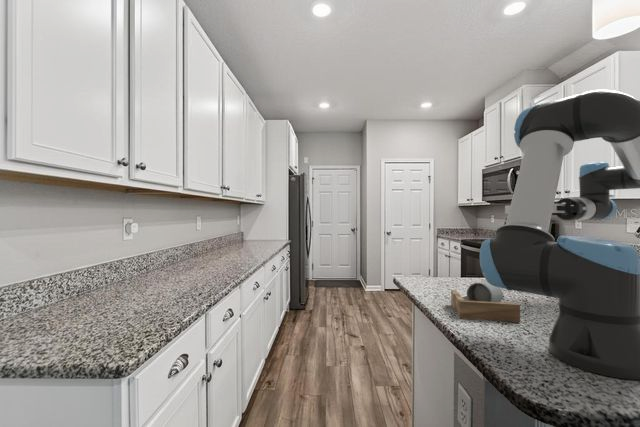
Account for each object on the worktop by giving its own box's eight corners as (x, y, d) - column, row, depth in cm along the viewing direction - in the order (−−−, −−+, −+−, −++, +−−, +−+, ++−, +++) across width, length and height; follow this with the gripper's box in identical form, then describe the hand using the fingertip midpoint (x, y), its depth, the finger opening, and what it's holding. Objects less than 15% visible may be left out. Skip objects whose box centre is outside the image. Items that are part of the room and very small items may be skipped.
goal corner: (522, 322, 78) (522, 304, 78) (460, 318, 82) (460, 301, 82) (500, 304, 94) (500, 290, 95) (449, 301, 98) (449, 287, 98)
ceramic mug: (505, 307, 90) (504, 281, 91) (492, 312, 86) (491, 285, 86) (470, 299, 99) (469, 276, 99) (457, 304, 94) (456, 279, 95)
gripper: (620, 220, 88) (568, 221, 82) (537, 220, 112) (492, 220, 106) (620, 195, 88) (567, 193, 82) (537, 200, 112) (491, 199, 106)
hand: (525, 208), depth 94 cm, fingers open, 13 cm apart
